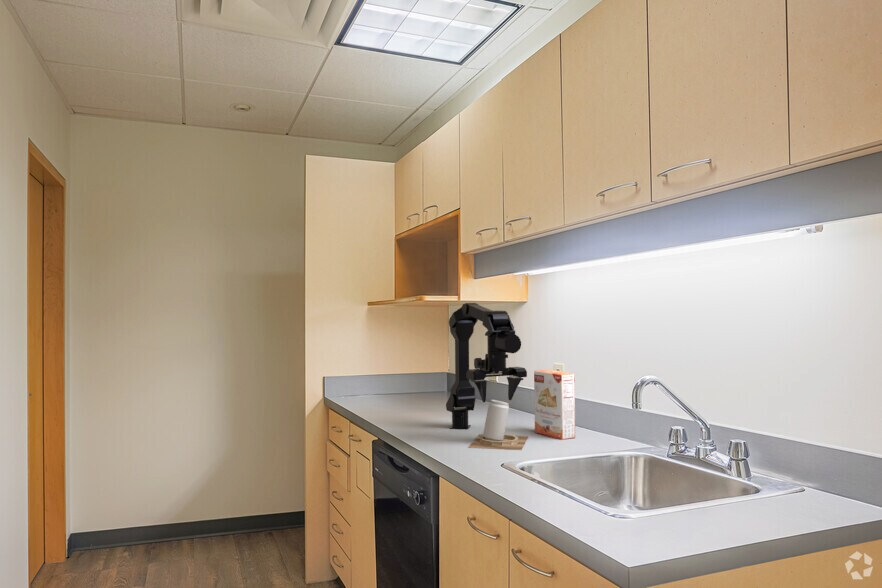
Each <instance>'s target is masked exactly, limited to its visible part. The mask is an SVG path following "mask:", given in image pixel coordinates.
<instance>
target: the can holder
mask: <svg viewBox="0 0 882 588" xmlns="http://www.w3.org/2000/svg"><path fill="white" fill-rule="evenodd" d="M528 439H529V435H513V434H508V433H504V438H503V440H502V441H490V440H487V439H485V437H484V436H483V433H482V434H480V433H479V434H478V435H477V436H476V437H475V438H474V439H473V441H472V442H471V443H470V444H469V445H468V447H467V449H485V450H486V449H487V450H504V451H505V450H506V451H507V450H508V451H509V450H510V451H522V450H523V448H524V447H525V445H526V442H527V441H528Z"/></svg>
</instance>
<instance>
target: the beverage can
mask: <svg viewBox="0 0 882 588" xmlns="http://www.w3.org/2000/svg"><path fill="white" fill-rule="evenodd" d="M509 405H510V403H509V402H506V401H502V400H497V399H490V402H489V403H488V407H487V411H486V412H487V413H486V417H485V421H484V429H483V433H482V434H483V436H484V437H485V439H487V440H490V441H502V440H503V438H504V434H506V433H505V432H506V427H507V422H508V417H509V412H510V406H509Z"/></svg>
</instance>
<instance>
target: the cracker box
mask: <svg viewBox="0 0 882 588" xmlns="http://www.w3.org/2000/svg"><path fill="white" fill-rule="evenodd" d="M533 378H534V379H533V380H534V382H533V387H534V388H533V389H534V390H533V391H534V393H533V394H534V432H535V433H536V434H540V435H544V436H547V437H552V438H554V439H558V440H561V441H563V440H570V439H575V438H576V396H575V395H576V394H575V393H576V392H575V390H576V388H575V387H576V386H575V385H576V384H575V381H576V380H575V373H573V372H565V371H559V370H553V369H536V370H534V371H533Z"/></svg>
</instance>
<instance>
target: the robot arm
mask: <svg viewBox="0 0 882 588" xmlns="http://www.w3.org/2000/svg"><path fill="white" fill-rule="evenodd" d="M448 320H449V321H448V326H449V331H450V334H451V336H452V337H453V340H454V361H455V362H454V363H455V364H454V367H455V368H454V369H455V370H454V371H455V375H454V377H455V378H454V379H455V381H454V383H453V384H452V386H451V388H450V395H449V396H448V399H447V401H446V403H445V410H446V411H447V412H450V413H451V426H450V427H449V429H450V430H469V429H470V428H471V427H472V426H471V424H469V411H474V410H475V405H476V388H475V387H474V386H473V385H472V384H471V382H473V383H474V385H476V387H477V390H478V392H479V395H480V399H481V400H482V403H486V400H487V380H485V379H486V378H491V377H506V379H507V382H508V383H507V384H508V385H507V387H508V389H507V391H508V392H507V395H508V397H507V399H508V400H509V401H512V400H513V397H514V395H515V392H516V390H517V388H518V386H519V385H520V383H521V381H524V378H527V377H528V371H527V369H526V368H525V367H521V366H509V367H507V359H508V358H509V354H516V353H518V352H519V351H520V349H521V348H522V341H521V338H520V337H519V336H518V335H517V334H516V330H515V326H514V325H513V323H512V320H511V318H510V315H509V313H508V312H507V311H506V310H492V309H489V308H487V307H484V306H482V305H479V304H478V303H476V302H465V303H463V304H462V305H461V306H460V308H458V309H457V310H455V311H454V312H452V313H451V316H450V317H449V319H448ZM478 321H480V322H482V326H483V327H484V328H486V330H487V331H486V332H485V333H484V336H486V337H487V353H485V355H484V356H485V357H484V359H482V358H481V357H475V358H473V366H474V368H472V369H471V368H470V340H471V338H472V336H473V334H474V329H475V326H476V324H477V322H478ZM470 381H471V382H470Z"/></svg>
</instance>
